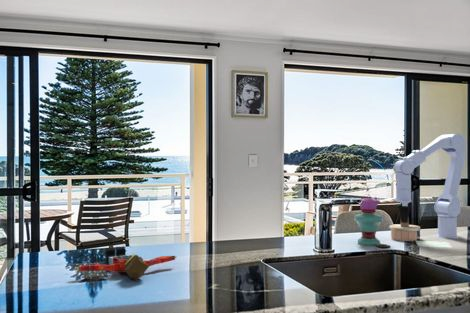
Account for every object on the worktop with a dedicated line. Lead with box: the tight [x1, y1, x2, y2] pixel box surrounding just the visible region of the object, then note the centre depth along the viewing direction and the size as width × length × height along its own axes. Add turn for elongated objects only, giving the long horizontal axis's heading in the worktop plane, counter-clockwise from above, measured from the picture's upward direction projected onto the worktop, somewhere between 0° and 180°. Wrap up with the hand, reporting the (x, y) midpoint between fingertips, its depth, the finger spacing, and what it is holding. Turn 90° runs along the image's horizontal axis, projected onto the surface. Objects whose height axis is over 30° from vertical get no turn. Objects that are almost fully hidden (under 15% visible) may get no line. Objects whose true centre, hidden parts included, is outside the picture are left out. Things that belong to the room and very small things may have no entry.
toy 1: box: [74, 246, 178, 281], centre depth 139 cm, size 31×8×30 cm
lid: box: [388, 216, 421, 232], centre depth 188 cm, size 12×12×5 cm
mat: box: [415, 240, 454, 249], centre depth 176 cm, size 12×12×1 cm
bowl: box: [390, 229, 418, 242], centre depth 188 cm, size 10×10×4 cm
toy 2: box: [354, 197, 384, 247], centre depth 180 cm, size 11×11×18 cm
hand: (403, 221), depth 188 cm, fingers open, 3 cm apart
